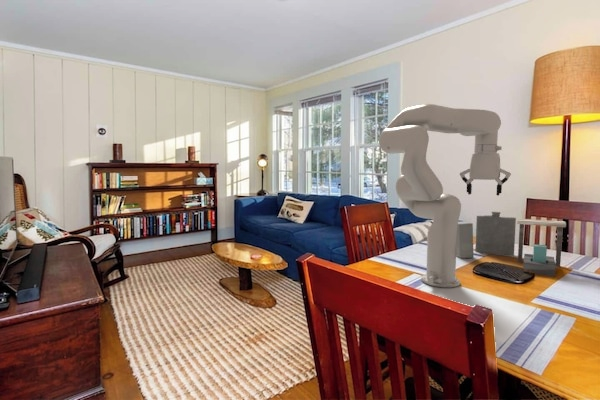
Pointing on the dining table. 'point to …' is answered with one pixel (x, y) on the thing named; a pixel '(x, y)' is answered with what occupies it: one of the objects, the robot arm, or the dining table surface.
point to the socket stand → (550, 264)
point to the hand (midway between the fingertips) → (483, 194)
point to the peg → (539, 253)
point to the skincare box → (464, 240)
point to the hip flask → (495, 234)
